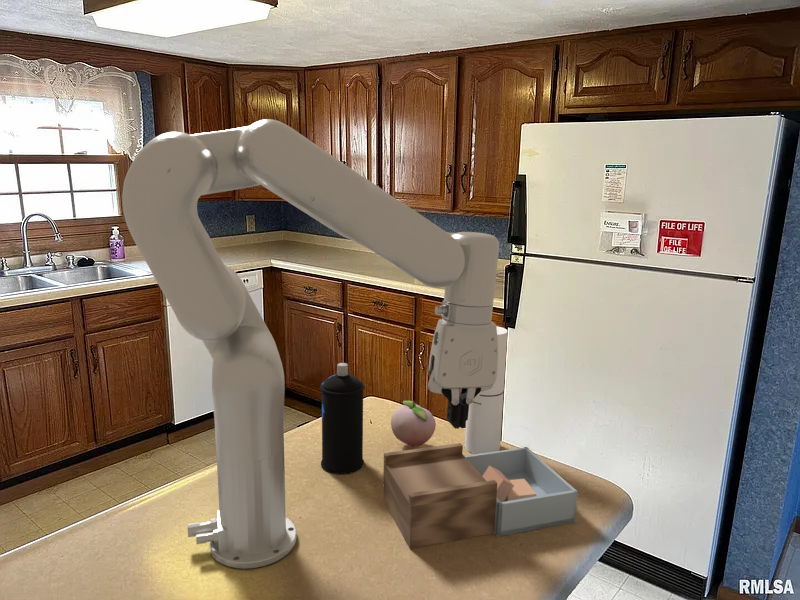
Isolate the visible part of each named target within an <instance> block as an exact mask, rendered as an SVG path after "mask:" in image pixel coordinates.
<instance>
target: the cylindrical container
mask: <svg viewBox="0 0 800 600" xmlns="http://www.w3.org/2000/svg"><path fill="white" fill-rule="evenodd" d="M496 328H497V338H498V368H497V378H496V382H495V383H494V384H493V385H492V388H491V389H489V390H486V391H481V392H480V393H479V394H478V395H477V396H476V397H475V398H474V399H473V402H472V403H471V404H469V412H468V420H467V421H466V425H465V435H464V448H465V450H466V451H467V452H469V453H471V454H472V455H473V454H481V453H488V452H495V451H501V437H502V436H501V435H502V422H503V410H504V409H503V407H504V406H503V405H504V390H505V375H506V360H507V348H508V347H507V344H508V329H506V328H505V327H502V326H498V325H496Z"/></svg>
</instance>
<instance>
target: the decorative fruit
mask: <svg viewBox="0 0 800 600" xmlns="http://www.w3.org/2000/svg"><path fill="white" fill-rule="evenodd" d="M402 404H403V405H401V406H400V407H398V408H397V409H396V410H394V412H393V413H392V416H391V419H390V426H391V427H390V428H391V430H392V433H393V435H394V437H395V438H396V439H397V440H399V441H400V442H401V443H404V444H406V445H407V446H410V447H412V448H416V447H419V446H423V445H424V444H425V443H427V442H428V441H429V440H430V439H431V438H432V437H433V435H434V433H435V430H436V427H437V425H436V420H435V417H434V416H433V413H431V411H429V410H428V409H426V408H423V407H421V406H420V405H419V404H417V403H416V402H415V400H413V401H412V400H403V401H402Z"/></svg>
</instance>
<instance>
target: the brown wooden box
mask: <svg viewBox="0 0 800 600" xmlns="http://www.w3.org/2000/svg"><path fill="white" fill-rule="evenodd" d="M463 451H464V445H463V444H462V443H461V442H459V443H451V444H445V445H436V446H430V447H429V446H428V447H419V448H414V449H405V450H398V451H392V452H389V451H388V452H384V453H383V483H382V484H383V487H382V489H383V491H382V492H383V493H382V494H383V495H382V497H383V498H382V500H383V502H384V503H385V505H386V508H387V509H388V511H389V513H390V515H391V518H392V520H394V522H395V525H396V526H397V527H398V530H399V532H400V534H401V535H402V537H403V538H404V541H405V543H406V545H407V546H408V549H410V550H411V549H416V548H423V547H426V546H428V547H429V546H433V545H438V544H443V543H444V544H445V543H448V542H454V541H459V540H463V539H464V540H465V539H469V538H470V539H471V538H475V537H480V536H485V535H486V536H487V535H492V534H495V533H494V529H495V513H496V498H497V482H496V481H495V480H491V481H486V480H485V479H484V478H483V477H482V475H481V474H480V473H479V472H478V471H477V470H476V469H475V468H474V467H473V465H472V464H471V463H470V462H469V461H468V460H467V459H466V458H465V456H466V455H464V454H463Z"/></svg>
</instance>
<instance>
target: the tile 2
mask: <svg viewBox="0 0 800 600" xmlns="http://www.w3.org/2000/svg"><path fill="white" fill-rule="evenodd" d="M509 481H510V482H511V483H512V484H513V485H514V487H513V488H512V490H511V491H510V493H509V494H508V496H507V497H506V499H505V501H511V500H517V499H523V498H529V497H535V496H536V493H535V492H534V490H533V489H532V488H531V487H530V485H529V484H528V483H527V482H526V480H525V479H516V480H509ZM505 501H504V502H505Z"/></svg>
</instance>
